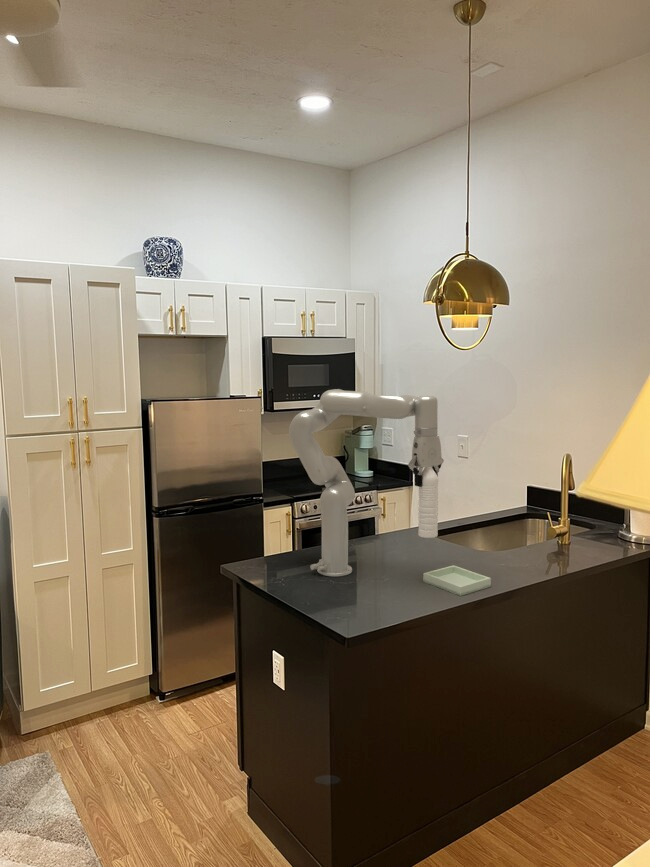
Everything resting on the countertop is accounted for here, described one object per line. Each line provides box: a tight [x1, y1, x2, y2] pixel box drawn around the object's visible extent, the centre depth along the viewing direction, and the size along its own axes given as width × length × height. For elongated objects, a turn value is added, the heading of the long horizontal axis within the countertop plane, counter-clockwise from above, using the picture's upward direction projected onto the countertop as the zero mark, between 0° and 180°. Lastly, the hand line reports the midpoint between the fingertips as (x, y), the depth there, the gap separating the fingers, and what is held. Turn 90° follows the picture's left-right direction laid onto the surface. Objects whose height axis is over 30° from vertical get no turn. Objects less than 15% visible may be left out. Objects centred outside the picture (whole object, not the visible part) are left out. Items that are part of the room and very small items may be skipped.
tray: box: [422, 564, 492, 597], centre depth 222 cm, size 15×17×3 cm
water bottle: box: [417, 466, 439, 539], centre depth 222 cm, size 9×6×25 cm
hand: (426, 484), depth 221 cm, fingers closed on water bottle, 6 cm apart
